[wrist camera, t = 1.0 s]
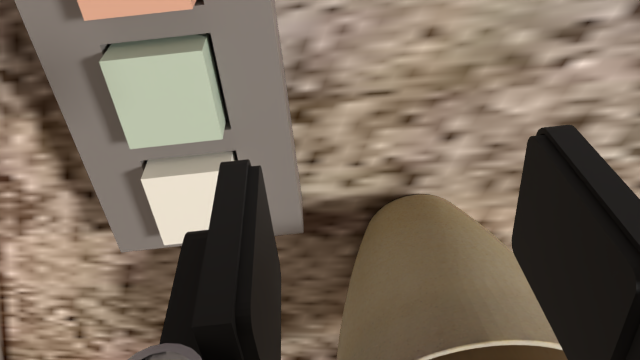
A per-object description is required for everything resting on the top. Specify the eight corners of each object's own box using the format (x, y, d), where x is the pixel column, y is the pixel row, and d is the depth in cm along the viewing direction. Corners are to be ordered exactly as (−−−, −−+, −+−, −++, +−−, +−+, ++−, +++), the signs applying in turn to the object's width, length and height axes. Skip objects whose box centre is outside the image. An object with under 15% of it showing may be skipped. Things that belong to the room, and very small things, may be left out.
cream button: (247, 211, 34) (245, 236, 32) (171, 219, 34) (164, 245, 32) (233, 146, 32) (229, 169, 30) (149, 155, 32) (140, 179, 30)
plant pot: (545, 240, 41) (666, 442, 28) (384, 322, 46) (424, 529, 33) (454, 105, 34) (562, 294, 21) (273, 219, 38) (269, 433, 25)
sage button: (226, 116, 30) (222, 139, 28) (140, 126, 30) (129, 149, 28) (208, 32, 27) (201, 50, 25) (112, 42, 27) (99, 61, 25)
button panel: (302, 199, 37) (303, 232, 34) (133, 218, 37) (121, 252, 35) (250, -174, 25) (245, -170, 22) (-7, -145, 25) (-45, -138, 22)
